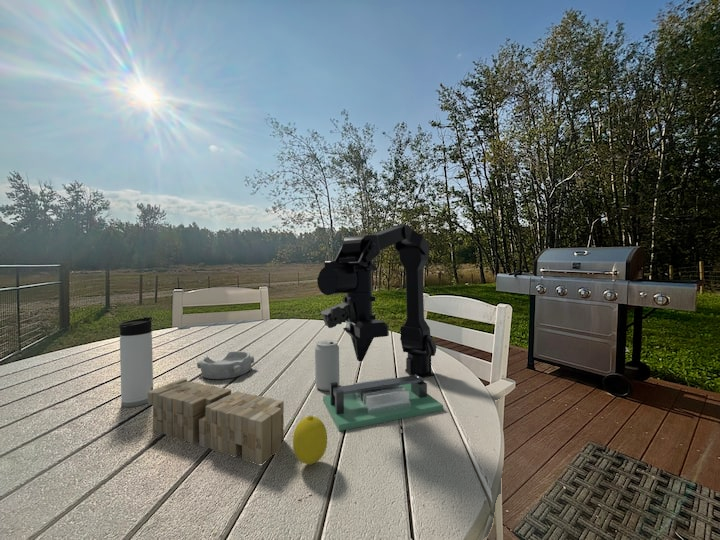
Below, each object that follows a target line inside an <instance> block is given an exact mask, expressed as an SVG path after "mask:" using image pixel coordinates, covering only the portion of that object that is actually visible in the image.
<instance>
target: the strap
mask: <svg viewBox="0 0 720 540" xmlns="http://www.w3.org/2000/svg"><path fill="white" fill-rule="evenodd" d="M392 378H393V377H392ZM418 382H421V383H422V382H425V379H424V378H423V377H420V376H418V375H417V374H415V375H406V376H401V377H399V376H398V377H394V378H393V379H386V380H380V381H373V382H367V383H360V384H354V383H353V384H348V385H341V386H340V385H339V386H338V387H334V388H333V394H334V396H335V391H338V390H343V391H344V394H350V393H356V392H362V391H368V390H374V389H381V388H387V387H393V386H399V385H405V384H411V383H418Z"/></svg>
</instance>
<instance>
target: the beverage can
mask: <svg viewBox="0 0 720 540" xmlns="http://www.w3.org/2000/svg"><path fill="white" fill-rule="evenodd" d="M314 366H315V367H314V371H315V374H314V375H315V387H316V388H317V389H318V390H320V391H325V392H326V391H329V392H330V383H334V382H337V383H338V387H340V384H341V383H340V347H339V344H338V341H336V340H332V339H331V340H330V339H327V340H319V341H317V342H316V343H315V346H314Z"/></svg>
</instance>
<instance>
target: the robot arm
mask: <svg viewBox="0 0 720 540" xmlns="http://www.w3.org/2000/svg"><path fill="white" fill-rule="evenodd" d="M391 246H393V249H394V250H395V251H396V252H397V254H398V256H399V262H400V264H401V265H402V266H403V268H404V270H405V292H406V295H405V298H406V299H405V300H406V320H405V322H404V324H403V325H401V326H400V331H399V332H400V338H399V340H400V343H401V347H402V352H403V353H407V357H406V359H405V362H406V365H405V367H406V368H405V370H404V371H405V372H406V373H407V374H409V376H412V375H415V374H417V375H418V376H420V377H421V378H423V377H424V378H425V377H431V376H435V373H434V371H432V357H434V356H436V353H437V345H436V343H435V341H434V340H433V338H432V336H431V328H430V327H429V325H428V323H427V322H426V319H425V313H424V311H425V310H424V309H425V308H424V307H425V306H424V304H425V302H424V273H423V272H424V268H425V266H426V264H427V263H428V261H429V255H430V251H431V249H430V244H429V242H428V241H427V239H426V238H425V237H424V236H423V234H420V233H419V232H417V231H415V230H413V228H412V227H411V226H410V225H409V224H398V225H392V226H391V227H388V228H386V229H383V230H380V231H378V232H374V233H372V234H362V235H351V236H350V235H349V236H345V237H344V239H343V240H342V245H341V246H340V248H339V250H338V252H337V253H336V256H335V258H334V260H325V261H324V266H323V268H322V269H320V271H319V273H318V277H317V281H316V282H317V287H318V289H319V291H320V292H321V293H322V294H324V295H325V296H333V295H340V294H341V295H342V294H343V297H342V302H341V303H338V304H335V305H333V306H330V307H328V308H326V309H324V310H322V311H320V314H321V316H322V320H323V321H324V325H325V326H327V327H328V328H329V329H333V328H335V327H336V326H337V325H342V324H343V323H346V327H343V330H344V331H345V332H346V333H347V334H348V335H349V336H350V338H351V342H352V346H353V350H354V353H355V357H356V360H357V362H363V361H364V359H365V357H366V355H367V353H368V351H369V348H370V346H371V345H372V342H373V340H374V338H383V337H385V338H386V337H388V336H389V334H390V333H389V332H390V329H389V328H390V326H389V325H388V324H387V323H386V322H385V321H382V320H380V319H376V314H373V302H376V296H374V295H373V272H376V271H378V267H377V266H376V265H375V264H374V263H373V262H372V261H373V260H374V259H376V258H377V257H378V256H379V255H381V251H382V250H384V249H386V248H388V247H391ZM344 294H346V295H344Z"/></svg>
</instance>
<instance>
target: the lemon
mask: <svg viewBox="0 0 720 540" xmlns="http://www.w3.org/2000/svg"><path fill="white" fill-rule="evenodd" d="M327 447H328V432H327V429H326V426H325V424H324V422H323V421H322V420H321V419H320V418H318V417H317V416H313V415H311V414H309V415H308V416H305V417H304V418H302V419H301V420H299V422H298V423H297V424H296V426H295V430H294V431H293V436H292V448H293V452H294V454H295V457H296V458H297V459H298V460H299V461H300V462H301V463H303V464H306V465H309V466H312V465H313V464H315V463H317V462H319V461H320V460H321V459H322V458H323V456H324V455H325V453H326V451H327Z"/></svg>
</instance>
